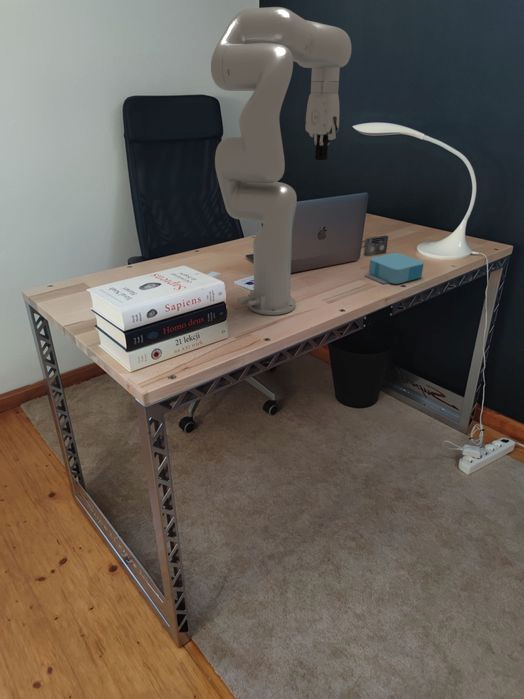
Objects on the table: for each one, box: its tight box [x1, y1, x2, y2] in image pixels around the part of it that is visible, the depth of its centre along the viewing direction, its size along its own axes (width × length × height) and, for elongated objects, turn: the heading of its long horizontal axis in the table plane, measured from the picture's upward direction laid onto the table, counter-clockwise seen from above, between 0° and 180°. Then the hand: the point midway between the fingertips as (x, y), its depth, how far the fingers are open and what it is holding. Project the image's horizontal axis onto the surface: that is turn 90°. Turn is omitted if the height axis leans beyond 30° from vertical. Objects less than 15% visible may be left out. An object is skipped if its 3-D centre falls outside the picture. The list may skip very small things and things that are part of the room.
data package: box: [368, 252, 424, 285], centre depth 152 cm, size 12×4×12 cm
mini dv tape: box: [363, 235, 389, 257], centre depth 171 cm, size 8×2×6 cm, turn 116°
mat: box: [364, 273, 391, 286], centre depth 154 cm, size 15×8×1 cm, turn 122°
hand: (321, 159), depth 148 cm, fingers closed
